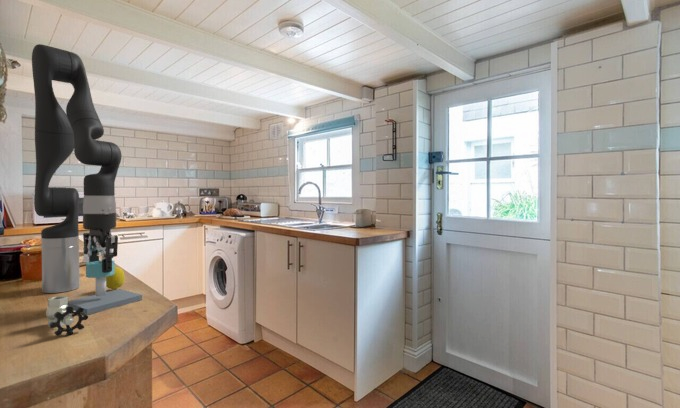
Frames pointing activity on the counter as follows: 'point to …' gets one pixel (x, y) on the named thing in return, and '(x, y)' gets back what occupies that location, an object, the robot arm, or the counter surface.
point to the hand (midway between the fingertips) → (100, 270)
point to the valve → (63, 315)
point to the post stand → (104, 299)
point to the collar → (97, 269)
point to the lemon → (115, 279)
